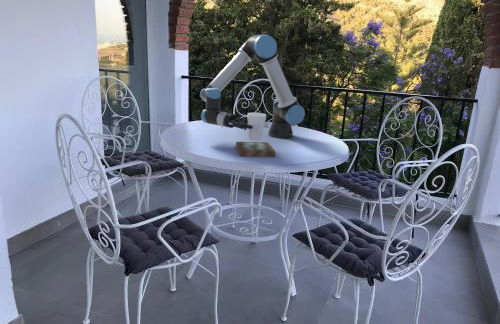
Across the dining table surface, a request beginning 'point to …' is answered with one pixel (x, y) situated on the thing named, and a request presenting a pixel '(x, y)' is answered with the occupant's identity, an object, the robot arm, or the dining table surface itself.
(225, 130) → the dining table surface
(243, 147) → the walnut base
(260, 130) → the foam cup
